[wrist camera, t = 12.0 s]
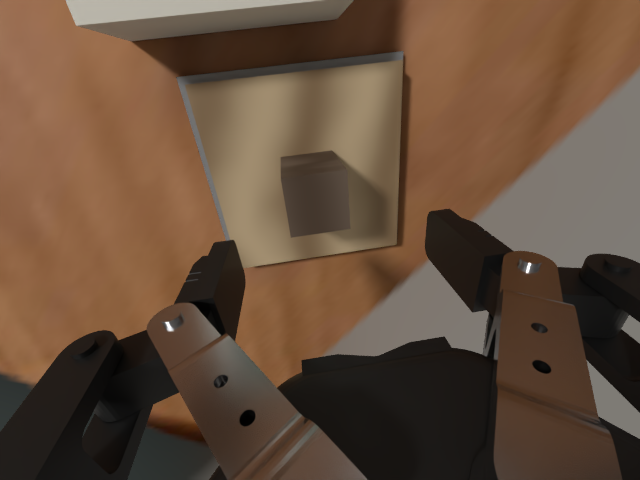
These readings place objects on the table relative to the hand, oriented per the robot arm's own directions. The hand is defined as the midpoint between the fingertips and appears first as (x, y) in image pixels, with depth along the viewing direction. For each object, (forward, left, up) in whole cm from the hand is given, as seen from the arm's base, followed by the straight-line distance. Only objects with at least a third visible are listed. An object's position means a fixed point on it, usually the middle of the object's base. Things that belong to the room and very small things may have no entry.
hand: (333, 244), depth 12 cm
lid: (0, 0, -10) cm, 10 cm away
